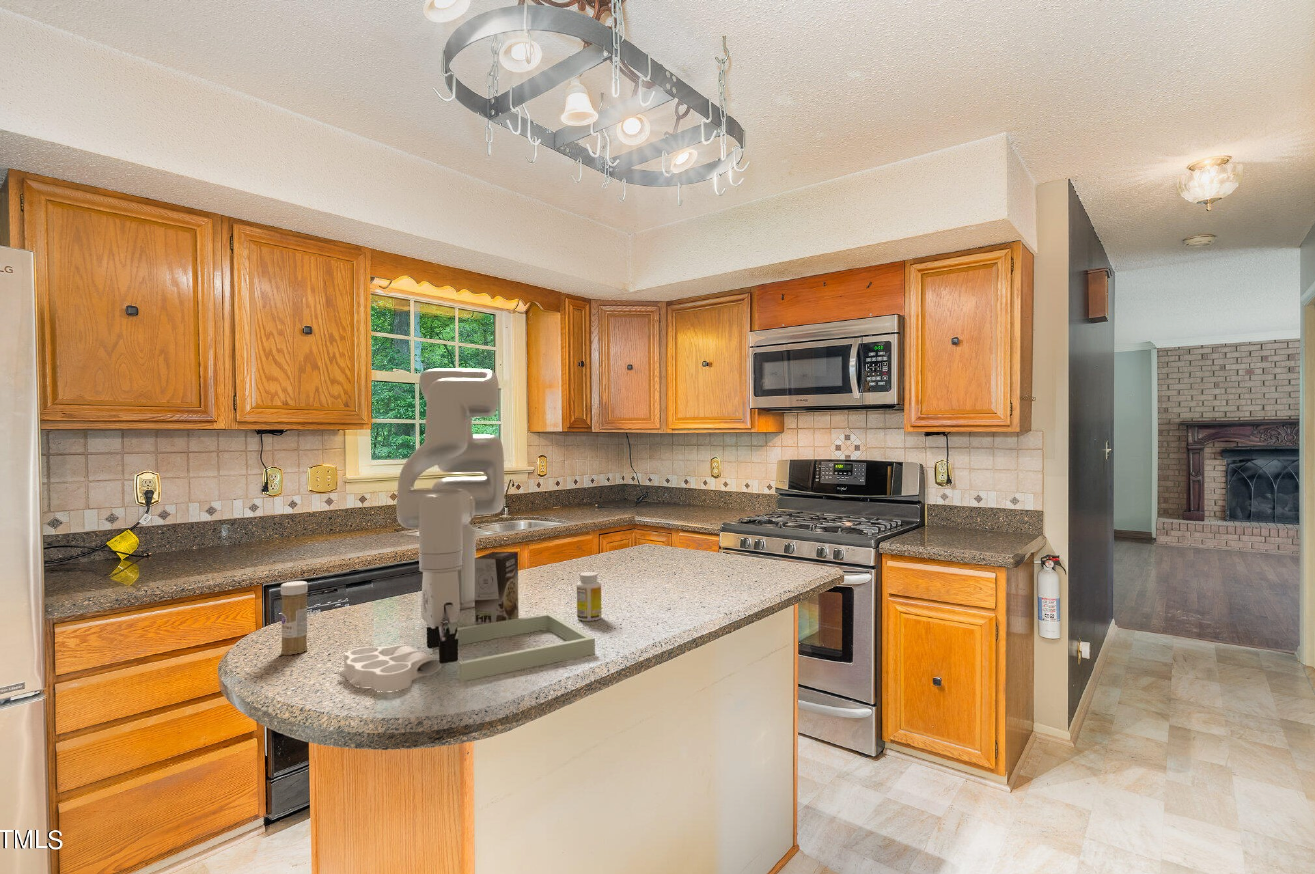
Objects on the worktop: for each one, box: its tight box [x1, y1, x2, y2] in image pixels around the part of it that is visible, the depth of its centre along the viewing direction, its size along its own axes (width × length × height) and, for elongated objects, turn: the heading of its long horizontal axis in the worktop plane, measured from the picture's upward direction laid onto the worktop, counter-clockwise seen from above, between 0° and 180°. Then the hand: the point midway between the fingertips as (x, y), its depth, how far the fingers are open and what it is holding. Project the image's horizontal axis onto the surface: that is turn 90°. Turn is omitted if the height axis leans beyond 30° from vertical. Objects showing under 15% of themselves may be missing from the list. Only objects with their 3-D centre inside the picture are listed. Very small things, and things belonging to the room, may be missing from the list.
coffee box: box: [474, 551, 520, 626], centre depth 140 cm, size 9×6×16 cm
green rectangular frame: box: [431, 612, 596, 683], centre depth 125 cm, size 21×25×3 cm
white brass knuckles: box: [336, 644, 442, 692], centre depth 114 cm, size 3×18×15 cm
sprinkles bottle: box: [280, 580, 309, 656], centre depth 126 cm, size 5×5×14 cm
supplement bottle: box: [576, 571, 603, 622], centre depth 147 cm, size 6×6×10 cm
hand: (442, 654), depth 118 cm, fingers open, 9 cm apart
